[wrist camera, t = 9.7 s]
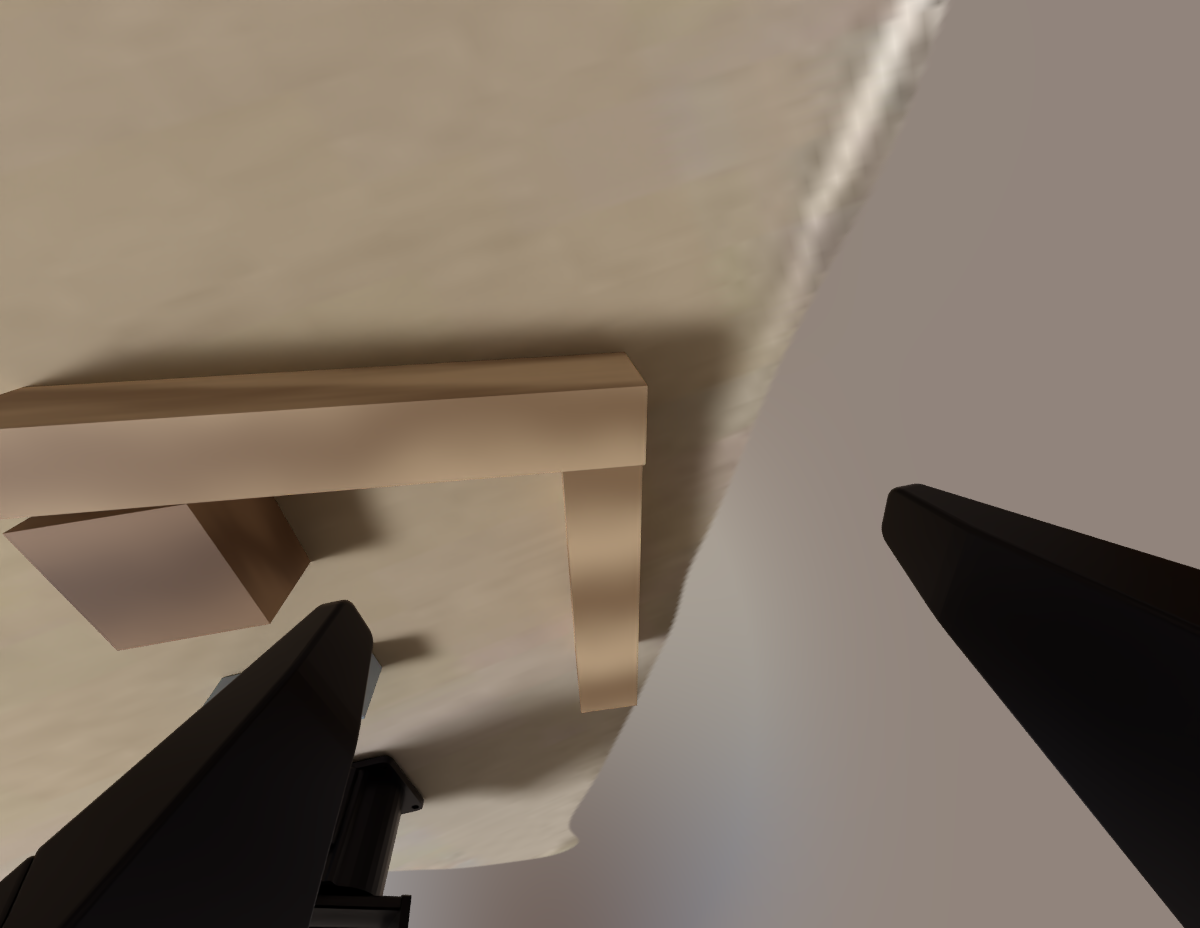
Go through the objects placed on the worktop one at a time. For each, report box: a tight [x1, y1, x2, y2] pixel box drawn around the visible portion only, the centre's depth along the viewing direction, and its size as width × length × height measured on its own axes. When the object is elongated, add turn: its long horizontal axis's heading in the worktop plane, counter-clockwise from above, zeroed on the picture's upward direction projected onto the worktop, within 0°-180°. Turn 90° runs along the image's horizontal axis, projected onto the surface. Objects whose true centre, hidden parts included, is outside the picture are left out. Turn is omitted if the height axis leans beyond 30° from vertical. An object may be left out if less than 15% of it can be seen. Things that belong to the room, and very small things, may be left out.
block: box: [3, 496, 310, 651], centre depth 18 cm, size 6×6×4 cm
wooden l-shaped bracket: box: [0, 352, 648, 713], centre depth 20 cm, size 18×22×4 cm
